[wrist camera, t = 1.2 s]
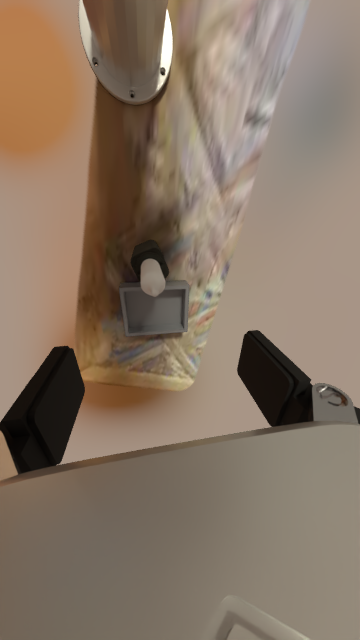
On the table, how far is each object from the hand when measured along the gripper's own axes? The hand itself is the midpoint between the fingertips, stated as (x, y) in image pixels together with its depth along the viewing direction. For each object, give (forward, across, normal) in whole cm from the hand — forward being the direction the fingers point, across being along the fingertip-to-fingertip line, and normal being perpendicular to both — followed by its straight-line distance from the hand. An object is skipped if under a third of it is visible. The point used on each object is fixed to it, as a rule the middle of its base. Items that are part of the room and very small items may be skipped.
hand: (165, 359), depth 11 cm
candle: (+35, 0, 0) cm, 35 cm away
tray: (+35, -1, +12) cm, 37 cm away
